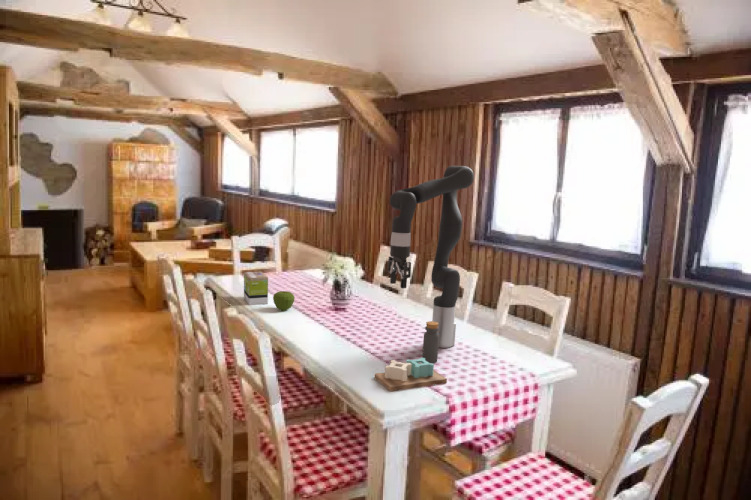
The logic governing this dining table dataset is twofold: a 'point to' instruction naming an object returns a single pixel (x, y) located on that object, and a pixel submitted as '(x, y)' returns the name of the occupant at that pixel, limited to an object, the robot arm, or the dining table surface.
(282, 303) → the apple
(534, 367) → the dining table surface
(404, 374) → the cream gear
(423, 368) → the teal gear
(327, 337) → the dining table surface
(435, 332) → the bottle
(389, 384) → the board
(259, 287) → the tea box
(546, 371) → the dining table surface
